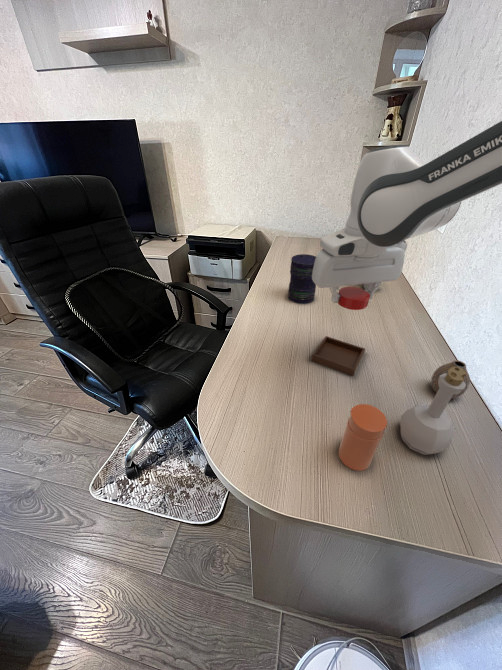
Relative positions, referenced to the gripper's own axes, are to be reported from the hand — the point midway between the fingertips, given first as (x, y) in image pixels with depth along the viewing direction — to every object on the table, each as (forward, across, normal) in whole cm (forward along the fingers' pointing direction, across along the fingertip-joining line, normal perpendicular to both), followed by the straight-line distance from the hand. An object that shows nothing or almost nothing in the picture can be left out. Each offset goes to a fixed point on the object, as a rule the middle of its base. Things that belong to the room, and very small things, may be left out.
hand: (351, 299), depth 65 cm
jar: (+18, +10, +27) cm, 34 cm away
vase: (+18, -18, +17) cm, 31 cm away
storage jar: (+18, -3, -35) cm, 40 cm away
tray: (+18, 0, 0) cm, 18 cm away
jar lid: (-2, 0, 0) cm, 2 cm away
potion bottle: (+18, -4, +27) cm, 32 cm away
